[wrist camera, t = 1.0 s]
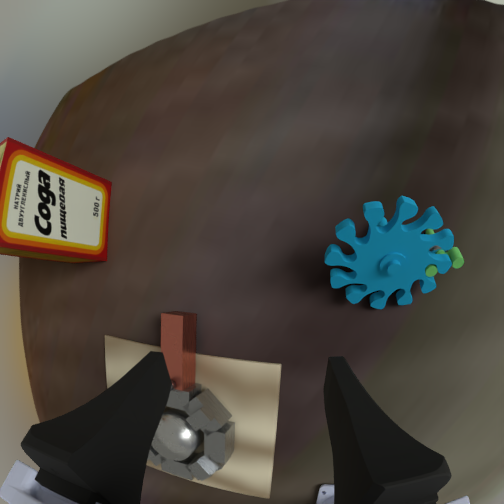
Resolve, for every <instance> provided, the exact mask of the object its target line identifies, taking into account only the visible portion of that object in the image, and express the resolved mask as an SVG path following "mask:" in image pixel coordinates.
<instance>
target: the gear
mask: <svg viewBox="0 0 504 504" xmlns="http://www.w3.org/2000/svg"><path fill="white" fill-rule="evenodd" d="M417 211H418V207H417V205H416V203H415V202H414V201H413V200H412V199H410V198H408V197H405V196H400V197H399V198H398V200H397V207H396V212H395V214H394V216H393V218H392V219H391V220H390V221H389V222H388V223H387V220H386V219H385V218H384V210H383V207H382V204H381V202H377V201H374V202H368V203H364V205H363V212H364V216H365V218H366V220H367V221H368V223H369V229H368V233H367V235H366V236H365V237H363V238H357V237H355V234H356V232H355V226H354V222H353V221H352V220H351V219H349V218H348V219H345V220H343V221H342V222H340V223H339V224H338V225H337V226H335V227H336V236H337V238H338V239H340V240H342V241H344V242H346V243H348V244H350V245H351V246H352V247H353V249H354V250H355V253H354V254H352V255H345V254H344V253H343V252H342V250H341V248H340V247H339V246H338V245H335V244H331V245H330V246H329V247H328V248H327V250H326V253H325V263H326V264H327V265H330V266H335V265H340V266H345V267H348V268H350V269H352V270H354V271H353V272H350V273H348V272H345V271H343V270H341V269H338V268H335V269H332V270H331V271H330V280H331V286H332V288H340V287H342V286H345V285H347V284H353V283H359V284H363V285H360V286H358V285H351V286H348V287H347V288H346V298H347V299H348V300H349V301H350V302H351V303H352V304H355V303H358V302H359V301H360V300H361V299H362V298H363V297H364V296H366V295H367V294H369V293H372V292H375V291H378V290H381V291H379V292H376V293H373V294H372V295H371V296H370V298H369V299H370V306H371V307H373V308H377V309H383V308H384V307H385V305H386V300H387V298H388V297H389V296H390V295H391V294H392V293H393V292H394V291H395V290H397V289H400V290H399V291H398V292H397V294H396V297H397V302H398V305H406V304H411V303H412V296H411V292H410V288H411V286H412V283H413V282H414V281H415V280H418V279H420V286H421V290H422V292H423V293H428V292H430V291H432V290H433V289H435V288H436V283H435V280H434V277H433V276H434V275H435V274H436V273H437V271H438V272H439V273H441V274H444V273H446V272H447V271H448V270H449V268H450V267H451V265H452V266H453V267H454V268H460V267H461V266H462V265H463V264H464V259H463V257H462V255H461V253H460V251H459V249H458V248H457V247H453V244H454V236H453V234H452V232H451V230H450V229H443V230H442V231H440V232H438V233H434V231H433V230H432V229H438V228H440V227H441V226H442V225H443V221H442V218H441V217H440V215H439V213H438V211H437V210H436V209H435V207H434V206H432V207H429V208H428V209H427V210H426V211H425V213H424V214H423V215H422V216H421V217H420V218H419V219H418V220H416V221H415V222H412V223H410V224H407V225H402V222H403V221H404V220H406V219H409V218H412V217H413V216H415V215H416V213H417ZM425 229H427V230H426V234H421V232H422V231H423V230H425ZM448 250H449V251H448Z"/></svg>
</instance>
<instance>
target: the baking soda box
mask: <svg viewBox="0 0 504 504" xmlns="http://www.w3.org/2000/svg"><path fill="white" fill-rule="evenodd" d="M111 185H112V182H110V181H108V180H105V179H103V178H101V177H99V176H96V175H94V174H92V173H90V172H87V171H85V170H83V169H80V168H78V167H76V166H74V165H71V164H69V163H67V162H64V161H62V160H60V159H58V158H55V157H53V156H51V155H48V154H46V153H44V152H42V151H39V150H37V149H35V148H32V147H30V146H28V145H25V144H23V143H21V142H18V141H16V140H14V139H11V138H9V137H8V138H6V139H5V140H4V141H2V142H1V143H0V254H1V255H9V256H17V257H25V258H33V259H41V260H50V261H58V262H67V263H83V262H98V261H107V242H108V221H109V207H110V195H111Z"/></svg>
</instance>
